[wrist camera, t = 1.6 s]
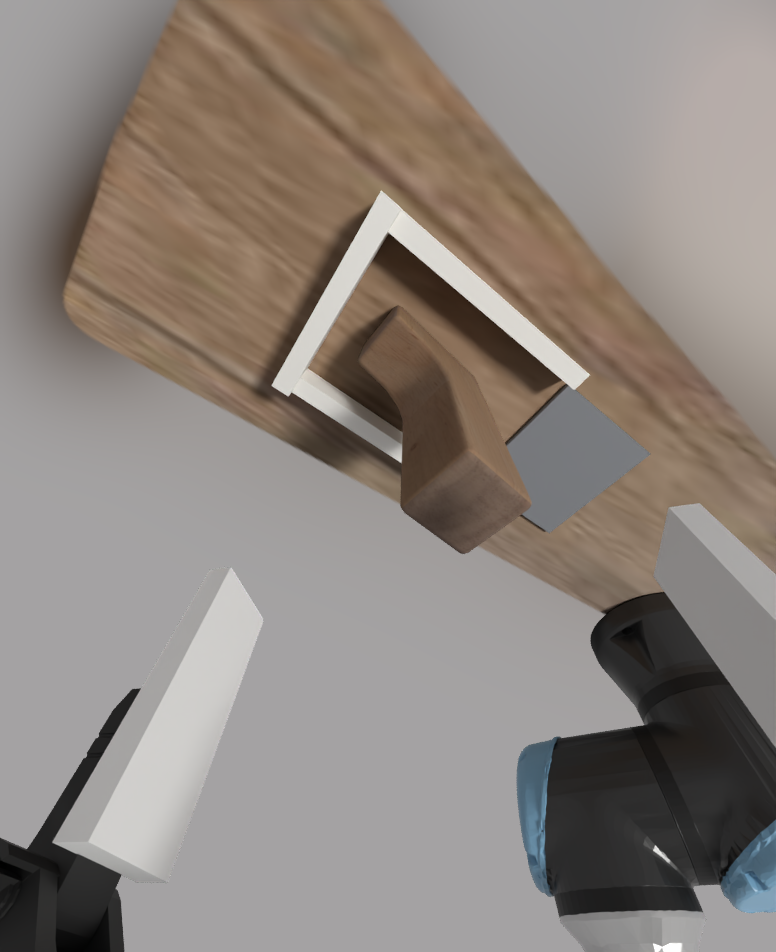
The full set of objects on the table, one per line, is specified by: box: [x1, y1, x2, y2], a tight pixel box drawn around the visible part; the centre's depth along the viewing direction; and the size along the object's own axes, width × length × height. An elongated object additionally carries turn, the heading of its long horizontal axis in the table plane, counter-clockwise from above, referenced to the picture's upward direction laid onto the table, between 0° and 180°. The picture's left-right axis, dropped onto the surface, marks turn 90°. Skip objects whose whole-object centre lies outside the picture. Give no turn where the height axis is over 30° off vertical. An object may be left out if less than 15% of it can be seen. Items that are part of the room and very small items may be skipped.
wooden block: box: [358, 306, 532, 554], centre depth 24 cm, size 9×4×18 cm, turn 49°
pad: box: [506, 384, 650, 533], centre depth 36 cm, size 11×12×1 cm
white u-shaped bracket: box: [272, 191, 589, 463], centre depth 31 cm, size 20×15×4 cm
